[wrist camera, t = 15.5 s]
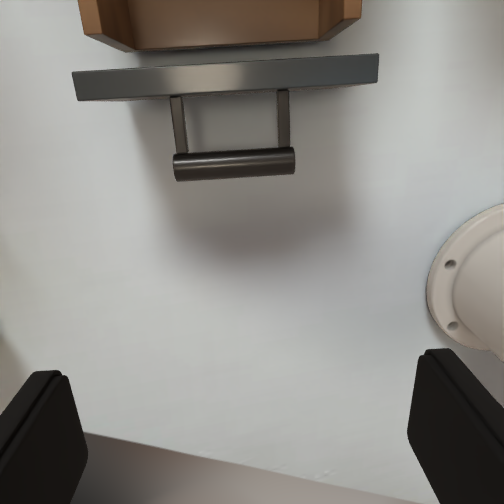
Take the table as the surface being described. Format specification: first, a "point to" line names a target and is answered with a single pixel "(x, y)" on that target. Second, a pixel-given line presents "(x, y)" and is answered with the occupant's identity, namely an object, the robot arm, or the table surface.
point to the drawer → (221, 65)
